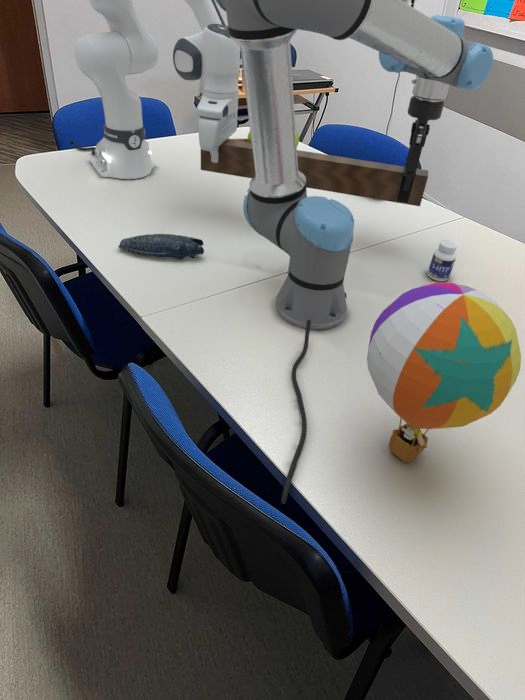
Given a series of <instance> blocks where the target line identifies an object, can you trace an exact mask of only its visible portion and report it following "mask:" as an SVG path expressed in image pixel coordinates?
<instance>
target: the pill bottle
mask: <svg viewBox="0 0 525 700" xmlns="http://www.w3.org/2000/svg"><path fill="white" fill-rule="evenodd" d="M457 248H458V244H457V243H456V242H455V241H452V240H449V239H441V241H440V242H439V245H438V248H436V249H435V250H434V251H433V254H432V257H431V261H430V263H429V267H428V270H427V276H428V277H429V278H431V279H432V280H435V281H438V282H445V281H448V280H449V278H450V277H451V273H452V271H453V269H454V265H455V262H456V259H457V254H456V251H457Z"/></svg>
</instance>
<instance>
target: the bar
mask: <svg viewBox="0 0 525 700" xmlns="http://www.w3.org/2000/svg"><path fill="white" fill-rule="evenodd" d="M229 139H230V138H229ZM229 139H227V140H226V141H225V142H224V143H222V144H221V145H220V146H219V150H218V154H219V155H220V156H219V161H218V162H217V163H214V162H212V161H211V153H210V151H205V150H202V149H201V148H200V170H201V171H205V172H210V173H217V174H222V175H229V176H234V177H240V178H247V179H252V178H253V177H254V176H255V175H256V174H255V165H254V157H253V149H252V143H248V142H242V141H236V140H229ZM297 163H298V171H300V172H301V173H303V174H304V176H305V178H306V189H313V190H318V191H319V190H320V191H325V192H331V193H337V194H343V195H350V196H353V197H354V196H355V197H362V198H368V199H373V200H379V201H384V202H391V203H397V204H403V205H410V206H413V207H414V206H415V207H421V205H422V202H423V201H422V200H423V197H424V194H425V193H424V192H425V189H426V186H427V183H428V179H429V170H427V169H422V168H417V170H416V176H415V177H414V181H413V185H412V189H411V193H410V197H409V201H408V203H405V202H399V201H397V198H398V194H399V190H400V186H401V182H402V178H403V176H401V173H404V172H405V169H406V166H402V165H397V164H389V163H384V162H376V161H371V160H364V159H359V158H358V159H357V158H350V157H344V156H337V155H332V154H325V153H319V152H312V151H306V150H300V149H297Z"/></svg>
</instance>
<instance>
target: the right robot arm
mask: <svg viewBox="0 0 525 700" xmlns="http://www.w3.org/2000/svg"><path fill="white" fill-rule="evenodd" d="M214 1H215V3H216V5H218V6H219V8H220V9H222V10H223V11H224V12H226V14H225V15H226V22H227V26H228V28H229V36H230V38H231V39H232V40H234V41H235V42H236V43H237V44H238V45H239V46H240V60H241V68H242V75H243V82H244V91H245V99H246V107H247V117H248V123H249V132H250V133H251V141H252V149H253V157H254V165H255V174H256V175H255V176H254V177H253V178H250V181H249V187H248V188H247V190H246V192H247V194H246V195H245V196H244V198H243V204H242V208H243V215H244V218H245V220H246V222H247V223H248V225H249V226H250V227H251V228H252V229H253V230H254V231H255V232H256V233H257V234H258V235H259V236H262V237H263V238H265V239H266V240H267V241H268V242H270V243H272V244H273V245H274V246H275V247H277V248H279V249H280V250H282V251H283V252H284V253H285V254H287V255H288V256H289V262H288V263H289V264H288V270H287V271H288V272H287V275H286V278H285V279H284V282H283V283H282V285H281V287H280V290H279V291H278V294H277V296H276V300H275V311H276V313H277V315H278V316H279V317H280V318H281V319H282V320H283V321H284V322H286V323H287V324H289V325H291V326H293V327H296V328H300V329H304V330H305V331H304V342H303V348H302V351H301V353H300V354H299V356H298V357H297V359H296V360H295V362H294V363H293V366H292V368H291V381H292V385H293V388H294V391H295V394H296V397H297V402H298V403H297V404H298V408H299V413H300V417H301V433H300V439H299V441H298V445H297V447H296V449H295V452H294V454H293V456H292V457H293V458H292V460H291V463H290V466H289V469H288V472H287V475H286V479H285V482H284V485H283V489H282V493H281V499H280V503H281V505H285V504H286V503H287V500H288V496H289V492H290V487H291V483H292V481H293V477H294V474H295V471H296V468H297V465H298V461H299V458H300V456H301V453H302V451H303V449H304V445H305V443H306V437H307V432H308V431H307V430H308V424H307V423H308V422H307V415H306V409H305V406H304V401H303V396H302V391H301V389H300V386H299V384H298V380H297V369H298V367H299V365H300V363H301V362H302V361H303V359H304V358H305V356H306V354H307V352H308V347H309V340H310V339H309V338H310V331H324V330H325V331H326V330H329V329H333V328H336V327H337V326H339V325H340V324H342V323H343V322H344V320H345V318H346V315H347V310H348V307H347V306H348V305H347V299H348V298H347V296H348V295H347V292H345V286H344V280H345V275H346V272H347V267H348V262H349V257H350V254H351V249H352V244H353V240H354V235H355V234H354V230H355V229H354V228H355V217H354V216H353V213H352V212H351V211H350V209H349V208H348V207H347V206H346V205H344V204H343V203H341V202H340V201H338V200H336V199H333V198H331V199H329V198H327V197H326V196H319V195H311V196H308V192H307V188H306V178H305V176H304V174H303V173H301V172H300V171H298V163H297V150H298V146H296V132H297V130H296V115H295V100H294V99H295V98H294V85H293V84H294V83H293V66H292V65H293V64H292V49H291V40H292V38H293V36H294V35H295V34H296V32H297V31H298V30H301V31H305V32H311V33H315V34H318V35H319V34H320V35H323V36H327V37H329V38H331V39H334V40H335V41H344V40H347V39H351V40H354V41H355V42H357V43H360V44H362V45H364V46H366V47H369V48H370V49H372V50H374V51H377V52H378V60H379V64H380V66H381V67H382V68H383V70H384V71H387V72H389V73H397V74H399V73H408V74H411V75H414V76H415V78H413V79H412V80H411V84H413V86H412V87H413V88H412V96H411V97H410V100H409V103H408V108H407V115H408V116H410V117H411V118H414V119H415V118H416V119H415V121H413V122H412V125H411V130H410V137H409V144H408V145H409V148H408V152H407V156H406V158H405V164H404V167H406V169H405V172H404V173H401V176H403V178H402V182H401V186H400V190H399V194H398V198H397V201H399V202H405V203H408V201H409V197H410V193H411V189H412V185H413V181H414V177H415V176H416V170H417V169H419V166H420V164H419V162H420V158H421V155H422V152H423V151H422V150H423V148H424V147H425V145H426V140H427V137H428V135H429V133H430V130H431V129H430V127H431V126H430V124H428V122H429V121H438V120H439V119H440V118H441V117H442V113H443V110H444V106H445V101H444V100H445V99H446V98H447V96H448V93H449V89H450V86H452V87H454V88H457V89H462V90H463V89H464V90H467V91H474V90H476V89H478V88H479V87H481V86H482V85H483V84H484V83H485V82H486V80H487V79H488V77H489V74H490V72H491V70H492V67H493V63H494V53H493V50H492V48H491V47H489V46H488V45H486V44H482V43H480V42H479V41H471V40H468V39H467V38H464V37H463V36H464V31H465V25H466V24H465V23H466V22H465V21H464V20H463V19H462V18H460V17H456V16H449V15H439V14H438V15H437V14H436V15H432V16H431V17H429V15H426V14H425V13H422V12H421V11H419V10H418V9H416V8H414V7H413V6H411V5H409V4H408V3H406V2H405V1H403V0H214Z"/></svg>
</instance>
